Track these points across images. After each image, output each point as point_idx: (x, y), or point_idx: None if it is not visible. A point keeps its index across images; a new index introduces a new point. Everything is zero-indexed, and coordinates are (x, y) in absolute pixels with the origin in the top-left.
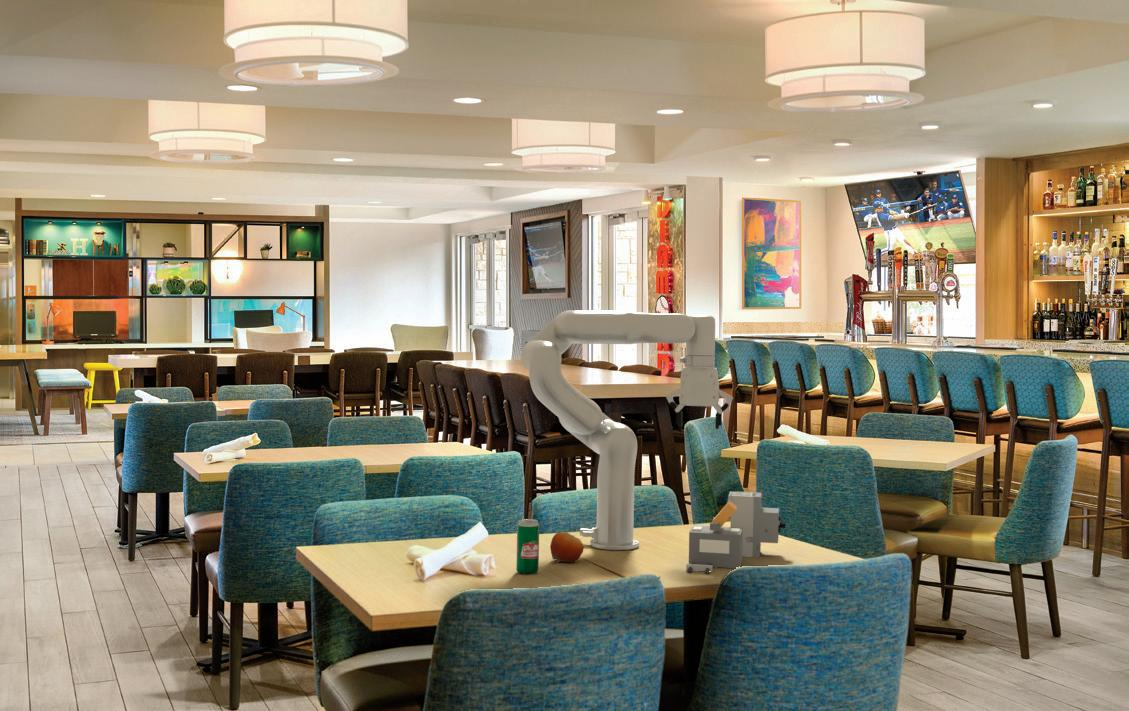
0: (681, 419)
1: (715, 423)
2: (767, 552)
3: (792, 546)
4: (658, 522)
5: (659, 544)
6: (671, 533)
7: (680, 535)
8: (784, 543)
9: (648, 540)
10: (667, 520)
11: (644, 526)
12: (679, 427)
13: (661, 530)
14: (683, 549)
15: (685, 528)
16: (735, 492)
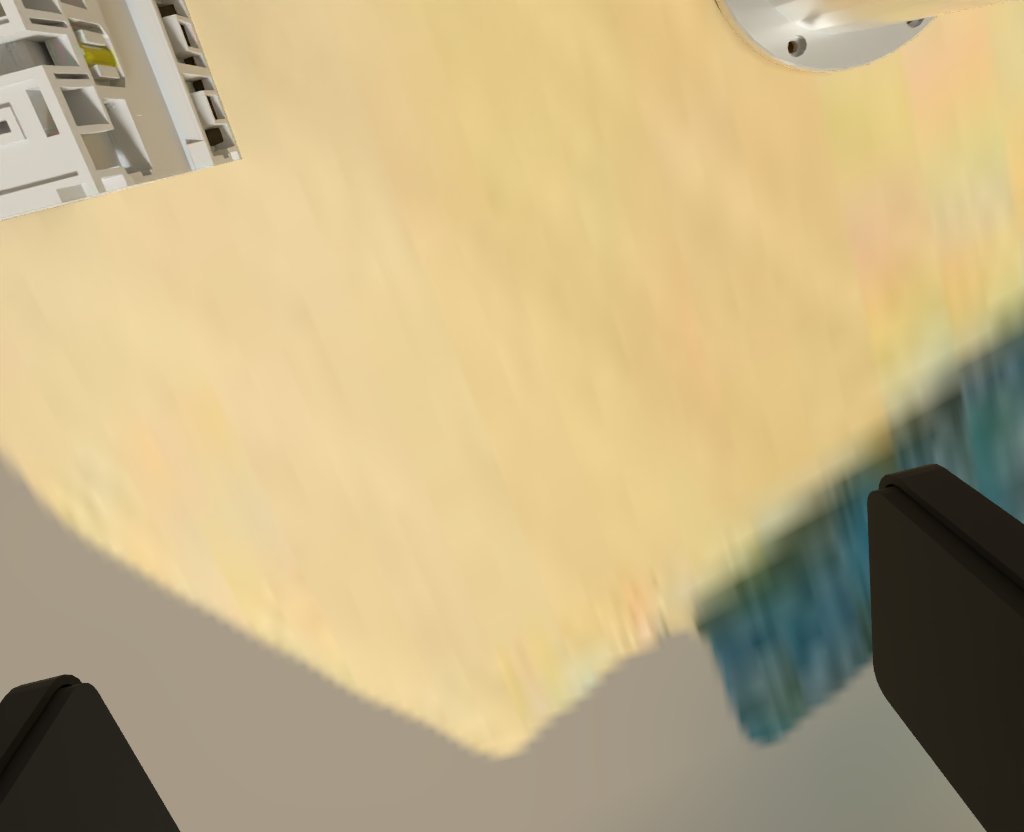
0: (989, 638)
1: (20, 766)
2: None
3: (10, 422)
4: (772, 629)
5: (621, 111)
6: (650, 428)
7: (596, 403)
8: (82, 472)
9: (705, 192)
10: (747, 685)
11: (809, 519)
12: (901, 474)
13: (713, 471)
14: (457, 34)
15: (626, 568)
16: (40, 174)
